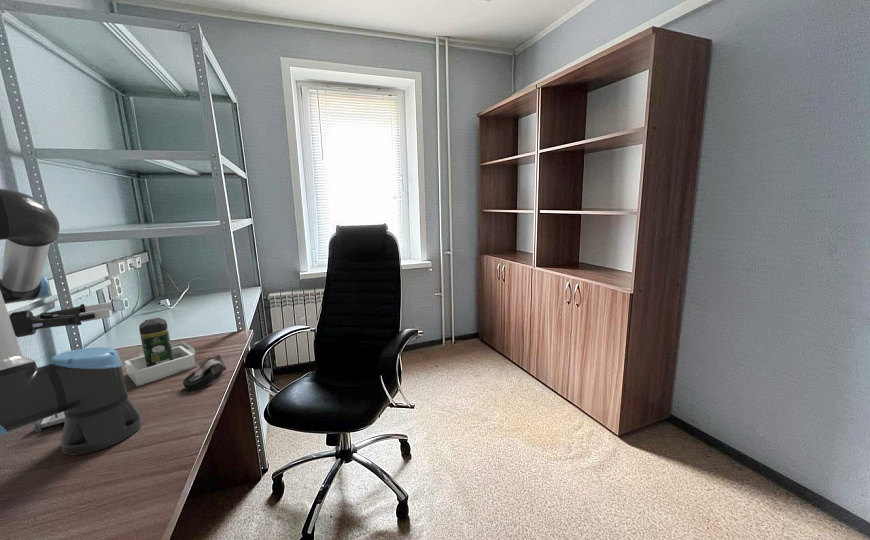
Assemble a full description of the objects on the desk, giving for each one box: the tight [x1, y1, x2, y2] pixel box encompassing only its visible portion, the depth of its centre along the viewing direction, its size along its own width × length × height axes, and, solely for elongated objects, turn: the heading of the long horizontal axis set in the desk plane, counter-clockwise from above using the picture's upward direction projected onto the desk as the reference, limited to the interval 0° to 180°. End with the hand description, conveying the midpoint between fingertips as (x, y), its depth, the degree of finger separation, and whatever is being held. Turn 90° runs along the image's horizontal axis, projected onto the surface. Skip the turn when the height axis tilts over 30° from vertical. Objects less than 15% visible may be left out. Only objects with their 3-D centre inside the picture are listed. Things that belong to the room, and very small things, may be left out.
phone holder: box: [34, 412, 65, 433], centre depth 98 cm, size 18×10×12 cm
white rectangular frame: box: [138, 341, 196, 359], centre depth 137 cm, size 13×15×2 cm
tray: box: [124, 346, 197, 387], centre depth 125 cm, size 15×17×5 cm
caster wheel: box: [182, 354, 227, 392], centre depth 114 cm, size 7×11×10 cm
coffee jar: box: [138, 317, 174, 368], centre depth 124 cm, size 10×8×19 cm
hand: (110, 309), depth 115 cm, fingers open, 13 cm apart
